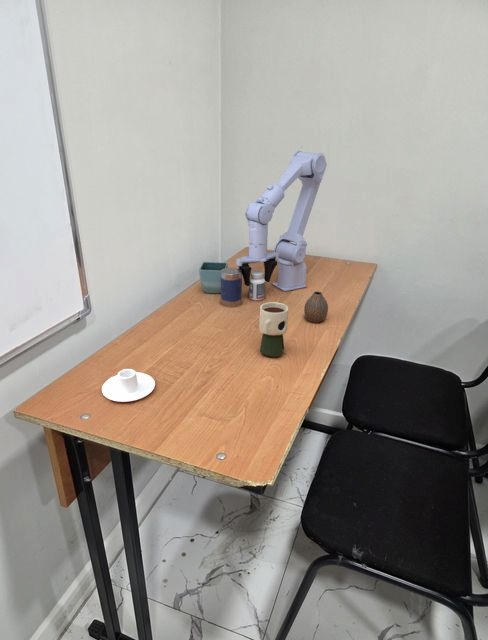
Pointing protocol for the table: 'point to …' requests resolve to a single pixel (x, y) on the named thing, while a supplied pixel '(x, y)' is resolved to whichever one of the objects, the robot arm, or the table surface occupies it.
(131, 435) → the table surface
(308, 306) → the vase
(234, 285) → the tin can
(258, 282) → the pill bottle
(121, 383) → the candle holder
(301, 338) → the table surface
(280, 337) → the character mug
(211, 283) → the flower pot
